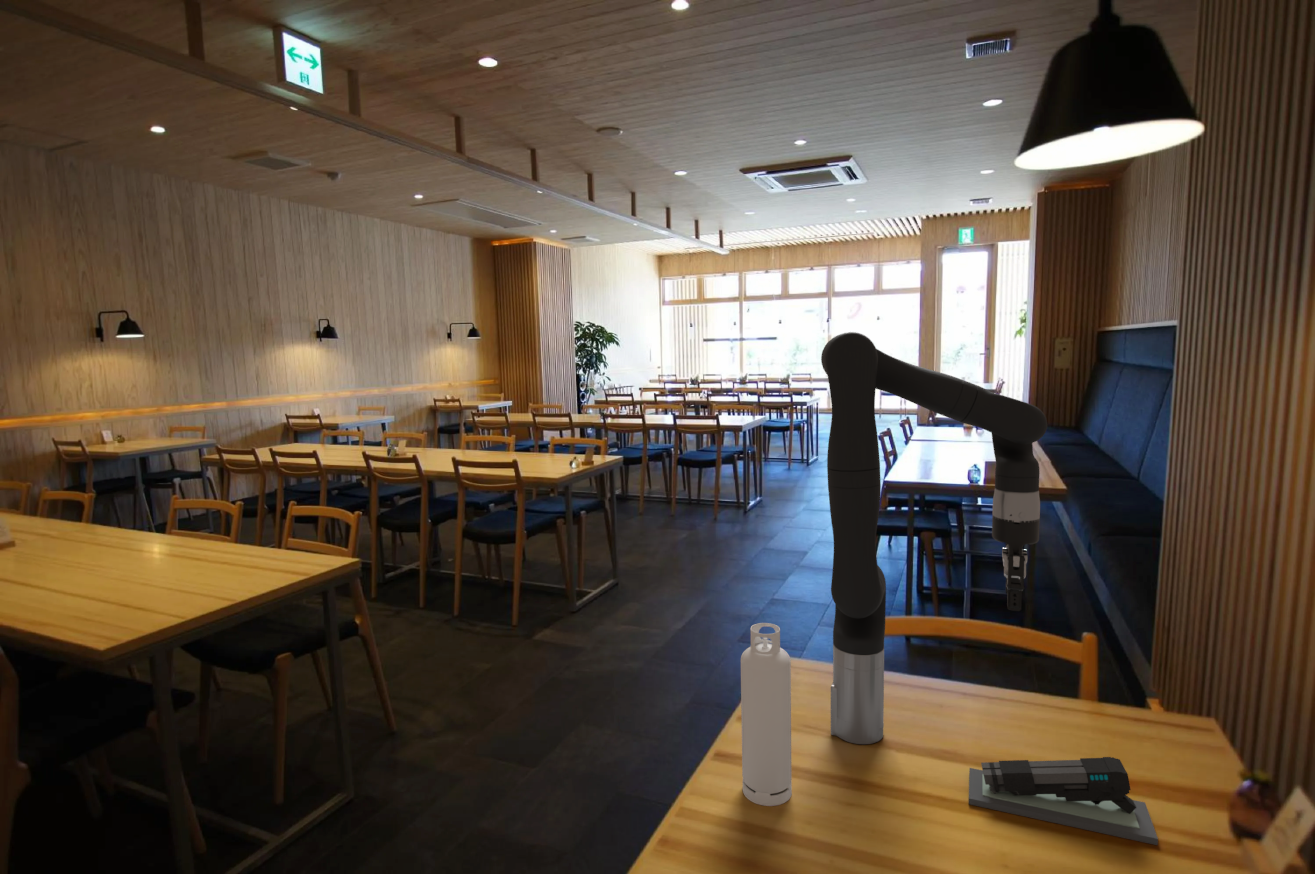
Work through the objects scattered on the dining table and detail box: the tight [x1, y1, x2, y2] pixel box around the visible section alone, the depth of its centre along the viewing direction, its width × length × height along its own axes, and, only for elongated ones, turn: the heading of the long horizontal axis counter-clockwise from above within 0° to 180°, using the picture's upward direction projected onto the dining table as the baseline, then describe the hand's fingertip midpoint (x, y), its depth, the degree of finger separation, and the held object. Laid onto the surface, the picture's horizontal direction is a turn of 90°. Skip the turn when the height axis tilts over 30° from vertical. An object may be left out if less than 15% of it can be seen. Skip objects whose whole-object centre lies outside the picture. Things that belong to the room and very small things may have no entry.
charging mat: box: [968, 767, 1159, 846], centre depth 111 cm, size 25×9×1 cm, turn 65°
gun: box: [981, 756, 1136, 814], centre depth 111 cm, size 4×20×10 cm, turn 72°
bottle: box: [740, 622, 793, 807], centre depth 116 cm, size 8×8×28 cm
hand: (1013, 602), depth 128 cm, fingers open, 8 cm apart
